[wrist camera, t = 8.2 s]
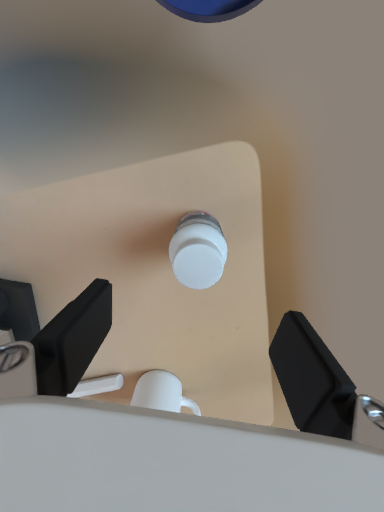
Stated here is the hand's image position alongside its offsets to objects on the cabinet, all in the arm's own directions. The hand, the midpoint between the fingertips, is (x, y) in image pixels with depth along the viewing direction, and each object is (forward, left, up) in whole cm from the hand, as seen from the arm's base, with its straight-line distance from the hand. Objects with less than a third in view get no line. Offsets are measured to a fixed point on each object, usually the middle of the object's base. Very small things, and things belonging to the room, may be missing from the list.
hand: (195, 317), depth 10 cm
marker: (+33, -16, -15) cm, 39 cm away
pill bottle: (0, 0, -15) cm, 15 cm away
